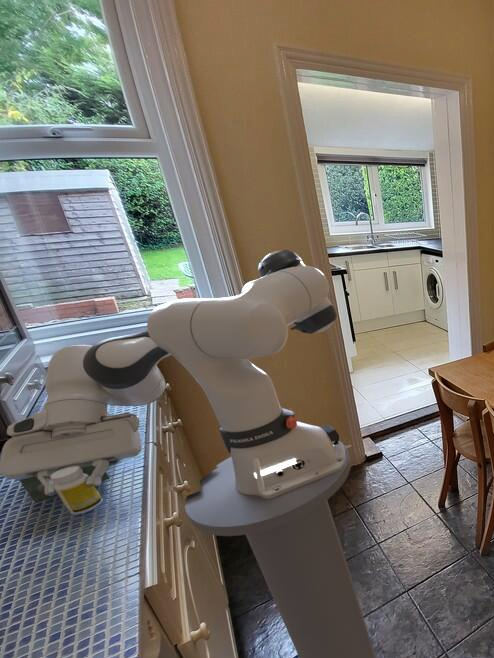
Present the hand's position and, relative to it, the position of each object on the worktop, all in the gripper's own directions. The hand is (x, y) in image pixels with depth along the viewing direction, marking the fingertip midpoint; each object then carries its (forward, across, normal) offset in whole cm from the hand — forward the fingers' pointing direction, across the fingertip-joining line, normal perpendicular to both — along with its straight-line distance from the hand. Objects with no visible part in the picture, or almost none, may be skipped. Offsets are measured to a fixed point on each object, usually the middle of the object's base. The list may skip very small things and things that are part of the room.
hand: (73, 490), depth 78 cm
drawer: (-6, +7, -13) cm, 16 cm away
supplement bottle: (+3, 0, -4) cm, 5 cm away
